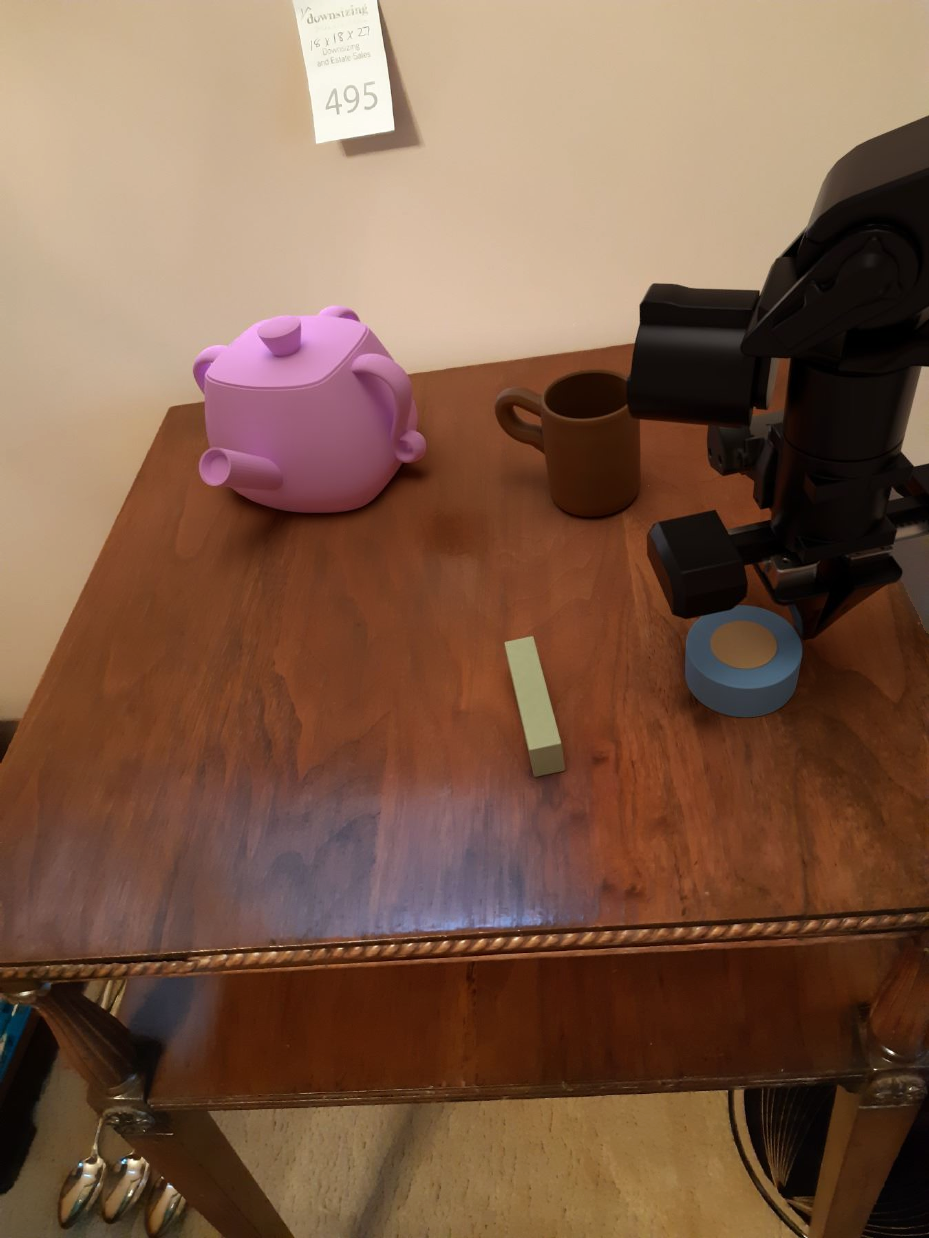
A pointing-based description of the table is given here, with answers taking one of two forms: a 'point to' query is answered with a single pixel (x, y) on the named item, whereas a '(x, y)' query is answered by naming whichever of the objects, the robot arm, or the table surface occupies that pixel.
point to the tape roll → (743, 661)
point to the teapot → (306, 413)
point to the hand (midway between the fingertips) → (804, 634)
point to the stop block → (534, 707)
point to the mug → (581, 439)
